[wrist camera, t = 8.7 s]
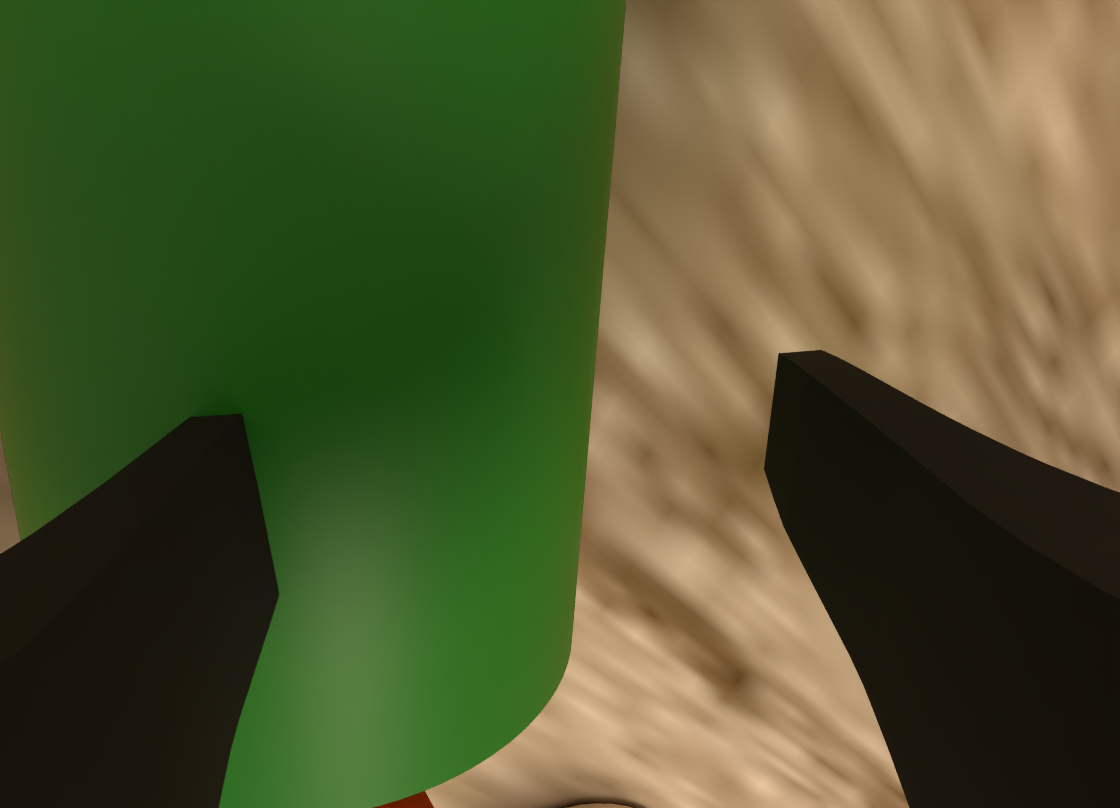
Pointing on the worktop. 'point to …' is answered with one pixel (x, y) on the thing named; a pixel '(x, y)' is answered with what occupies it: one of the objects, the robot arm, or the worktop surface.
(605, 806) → the milk bottle
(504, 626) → the green vase with flowers
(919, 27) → the worktop surface
